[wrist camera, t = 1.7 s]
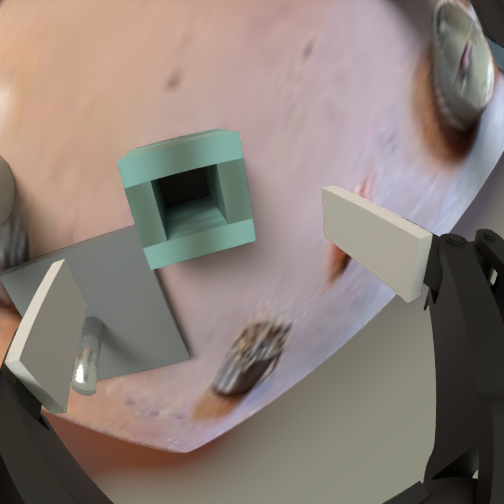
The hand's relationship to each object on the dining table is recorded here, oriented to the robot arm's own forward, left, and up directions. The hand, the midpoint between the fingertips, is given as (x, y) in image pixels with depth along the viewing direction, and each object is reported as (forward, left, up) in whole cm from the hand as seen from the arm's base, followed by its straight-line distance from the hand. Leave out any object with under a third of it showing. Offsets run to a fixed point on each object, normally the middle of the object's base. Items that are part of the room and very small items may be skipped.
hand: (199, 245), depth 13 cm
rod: (+14, +12, -13) cm, 22 cm away
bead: (0, 0, -14) cm, 14 cm away
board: (+14, +12, -14) cm, 23 cm away
